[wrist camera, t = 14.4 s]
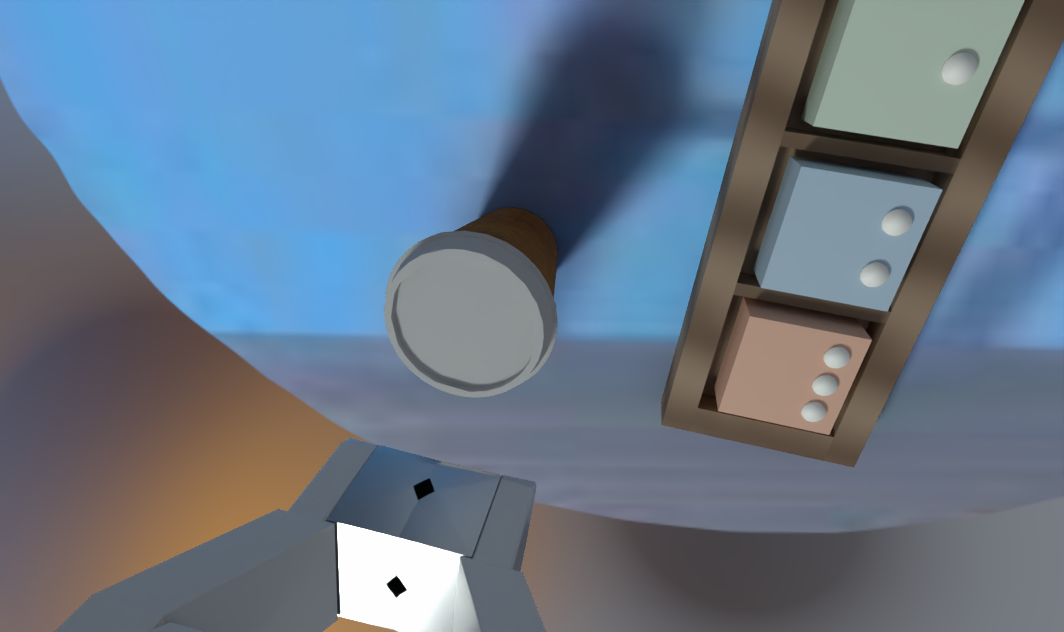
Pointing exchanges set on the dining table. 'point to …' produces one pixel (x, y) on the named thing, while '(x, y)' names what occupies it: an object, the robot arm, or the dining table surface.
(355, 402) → the dining table surface
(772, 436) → the key frame
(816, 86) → the tile one
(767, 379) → the tile three
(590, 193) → the dining table surface
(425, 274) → the disposable coffee cup
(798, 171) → the tile two
